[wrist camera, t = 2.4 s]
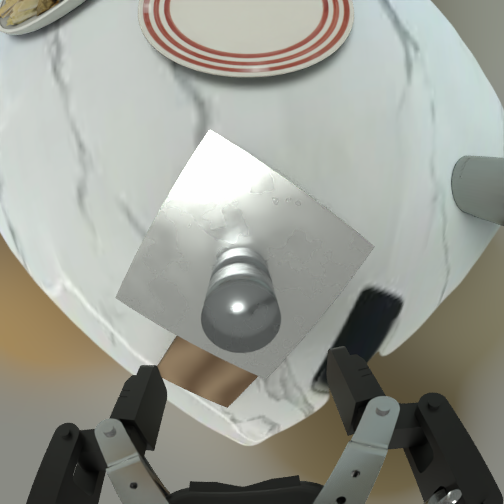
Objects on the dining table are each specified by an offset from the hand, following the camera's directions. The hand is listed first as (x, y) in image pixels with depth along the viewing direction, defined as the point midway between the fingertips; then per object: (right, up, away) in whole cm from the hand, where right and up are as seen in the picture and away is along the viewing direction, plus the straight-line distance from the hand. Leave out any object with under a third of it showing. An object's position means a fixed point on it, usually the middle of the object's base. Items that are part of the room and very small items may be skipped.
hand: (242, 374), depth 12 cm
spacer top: (0, +2, +9) cm, 9 cm away
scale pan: (-1, +4, +16) cm, 16 cm away
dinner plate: (0, +38, +13) cm, 40 cm away
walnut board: (-5, -11, +27) cm, 29 cm away
